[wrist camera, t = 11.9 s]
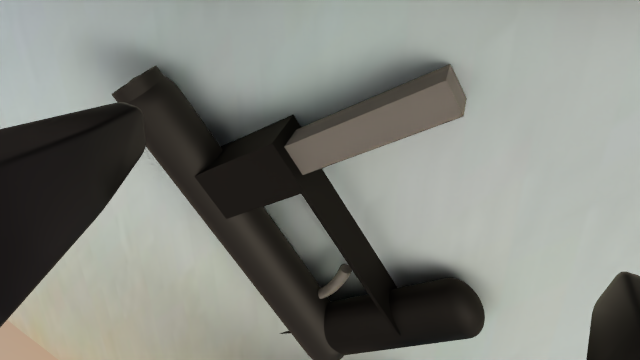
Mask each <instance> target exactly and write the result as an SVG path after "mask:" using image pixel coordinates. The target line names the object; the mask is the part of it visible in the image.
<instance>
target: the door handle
mask: <svg viewBox="0 0 640 360" xmlns="http://www.w3.org/2000/svg"><path fill="white" fill-rule="evenodd" d="M112 96H113V97H114V98H115V99H116V101H117V102H124V103H127V104H130V105H133V106H136V107H138V108H139V109H141V111H142V113H143V119H144V129H145V138H146V145H145V146H146V147H147V148H148V149H149V151H150V152H151V153H152V155H153V156H154V157H155V158H156V160H157V161H158V162H159V164H160V165H161V166H162V167H163V169H164V170H165V171H166V173H167V174H168V175H169V176H170V178H171V179H172V180H173V182H174V183H175V184H176V186H177V187H178V188H179V189H180V191H181V192H182V193H183V195H184V196H185V197H186V198H187V200H188V201H189V202H190V204H191V205H192V206H193V207H194V209H195V210H196V211H197V213H198V214H199V215H200V216H201V218H202V219H203V220H204V222H205V223H206V224H207V225H208V227H209V228H210V229H211V231H212V232H213V233H214V234H215V236H216V237H217V238H218V240H219V241H220V242H221V243H222V245H223V246H224V247H225V249H226V250H227V251H228V252H229V254H230V255H231V256H232V258H233V259H234V260H235V261H236V263H237V264H238V265H239V267H240V268H241V269H242V270H243V272H244V273H245V274H246V276H247V277H248V278H249V279H250V281H251V282H252V283H253V285H254V286H255V287H256V289H257V290H258V291H259V292H260V294H261V295H262V296H263V298H264V299H265V300H266V301H267V303H268V304H269V305H270V307H271V308H272V309H273V310H274V312H275V313H276V314H277V316H278V317H279V318H280V319H281V321H282V322H283V323H284V325H285V326H286V327H287V328H288V330H289V331H287V332H283V333H280V334H284V333H291V334H292V335H293V336H294V337H295V339H296V340H297V341H298V343H299V344H300V345H301V346H302V348H303V349H304V350H305V352H306V353H307V354H308V355H309V356H310V357H311V358H312V359H313V360H340V359H341V358H342V357H343V356H344V355H350V354H357V353H364V352H372V351H379V350H387V349H394V348H401V347H409V346H416V345H424V344H431V343H438V342H446V341H453V340H461V339H468V338H473V337H475V336H477V335H478V334H479V333H480V332H481V330H482V328H483V325H484V320H485V316H484V309H483V306H482V303H481V301H480V299H479V297H478V295H477V294H476V293H475V291H474V290H473V289H472V288H471V287H470V286H469V285H467V284H466V283H465V282H463V281H461V280H459V279H455V278H445V279H440V280H435V281H430V282H425V283H420V284H415V285H411V286H406V287H401V288H397V286H396V285H395V283H394V281H393V280H392V278H391V277H390V275H389V274H388V272H387V270H386V269H385V267H384V266H383V264H382V263H381V261H380V259H379V258H378V256H377V255H376V253H375V252H374V250H373V248H372V247H371V245H370V244H369V242H368V241H367V239H366V237H365V236H364V234H363V233H362V231H361V230H360V228H359V226H358V225H357V223H356V222H355V220H354V219H353V217H352V215H351V214H350V212H349V211H348V209H347V208H346V206H345V204H344V203H343V201H342V200H341V198H340V197H339V195H338V193H337V192H336V190H335V189H334V187H333V186H332V184H331V182H330V181H329V179H328V178H327V176H326V175H325V173H324V171H323V170H322V168H324V167H326V166H329V165H332V164H335V163H337V162H340V161H343V160H346V159H348V158H351V157H354V156H356V155H359V154H362V153H365V152H367V151H370V150H373V149H376V148H378V147H381V146H384V145H386V144H389V143H392V142H395V141H397V140H400V139H403V138H406V137H408V136H411V135H414V134H416V133H419V132H422V131H425V130H427V129H430V128H433V127H436V126H438V125H441V124H444V123H447V122H449V121H452V120H455V119H457V118H460V117H463V116H464V111H465V105H466V99H467V98H466V96H465V94H464V92H463V90H462V88H461V85H460V83H459V81H458V79H457V77H456V75H455V73H454V71H453V69H452V67H451V64H449V65H447V66H444V67H442V68H440V69H437V70H435V71H433V72H430V73H428V74H426V75H423V76H421V77H419V78H416V79H414V80H412V81H409V82H407V83H405V84H402V85H400V86H397V87H395V88H393V89H390V90H388V91H386V92H383V93H381V94H379V95H376V96H374V97H372V98H369V99H367V100H365V101H362V102H360V103H358V104H355V105H353V106H351V107H348V108H346V109H344V110H341V111H339V112H337V113H334V114H332V115H329V116H327V117H325V118H322V119H320V120H318V121H315V122H313V123H311V124H308V125H306V126H304V127H301V126H300V125H299V123H298V121H297V120H296V118H295V117H294V115H291V116H289V117H287V118H285V119H282V120H280V121H278V122H276V123H273V124H271V125H269V126H267V127H264V128H262V129H260V130H258V131H256V132H253V133H251V134H249V135H247V136H244V137H242V138H240V139H238V140H235V141H233V142H231V143H229V144H226V145H224V146H222V147H220V145H219V144H218V143H217V141H216V140H215V138H214V137H213V136H212V134H211V133H210V131H209V130H208V129H207V127H206V126H205V124H204V123H203V122H202V120H201V119H200V117H199V116H198V115H197V113H196V112H195V110H194V109H193V108H192V106H191V105H190V103H189V102H188V101H187V99H186V98H185V96H184V95H183V93H182V92H181V91H180V89H179V88H178V86H177V85H176V84H175V83H174V82H173V81H172V80H170V79H169V78H167V77H165V76H163V74H162V73H161V71H160V70H159V69H158V67H157V66H154V67H152V68H151V69H149V70H147V71H146V72H144V73H142V74H141V75H139V76H137V77H135V78H133V79H132V80H130V81H129V82H128V83H127V84H126V85H124V86H123V87H121V88H120V89H118V90H117V91H115V92H114V93H113V94H112ZM298 194H302V196H303V197H304V199H305V200H306V202H307V203H308V205H309V206H310V208H311V209H312V211H313V212H314V214H315V215H316V216H317V218H318V219H319V221H320V222H321V224H322V225H323V227H324V228H325V230H326V231H327V233H328V234H329V236H330V237H331V239H332V240H333V242H334V243H335V245H336V246H337V248H338V249H339V251H340V252H341V254H342V255H343V257H344V258H345V260H346V261H347V263H348V264H349V265H347V264H342V265H341V267H340V269H339V270H338V272H337V274H336V275H335V277H334V278H333V279H332V280H331V281H330V282H329V283H328V284H327V285H326V286H324V287H322V288H321V287H320V286H319V284H318V283H317V282H316V280H315V279H314V277H313V276H312V275H311V273H310V272H309V270H308V269H307V268H306V266H305V265H304V263H303V262H302V261H301V259H300V258H299V256H298V255H297V254H296V252H295V251H294V249H293V248H292V247H291V245H290V244H289V242H288V241H287V240H286V238H285V237H284V235H283V234H282V233H281V231H280V230H279V228H278V227H277V225H276V224H275V223H274V221H273V220H272V218H271V217H270V216H269V214H268V213H267V211H266V210H265V209H264V207H263V206H266V205H269V204H272V203H275V202H278V201H281V200H284V199H286V198H289V197H292V196H295V195H298ZM352 270H353V272H354V273H355V275H356V276H357V278H358V279H359V281H360V282H361V284H362V285H363V287H364V288H365V290H366V291H367V293H368V294H366V295H361V296H356V297H351V298H346V299H341V300H336V301H330V300H329V299H328V297H327V296H329V295H331V294H333V293H334V292H336V291H337V290H338V289H339V288H340V287H341V286H342V285H343V284H344V283H345V281H346V280H347V279H348V277H349V276H350V274H351V272H352Z"/></svg>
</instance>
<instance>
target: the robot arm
mask: <svg viewBox="0 0 640 360" xmlns="http://www.w3.org/2000/svg"><path fill="white" fill-rule="evenodd" d="M145 145H146V138H145V129H144V119H143V113H142V111H141V109H139V108H138V107H136V106H133V105H130V104H127V103H124V102H117V103H113V104H109V105H104V106H100V107H96V108H91V109H87V110H82V111H78V112H74V113H69V114H65V115H61V116H56V117H52V118H48V119H43V120H39V121H34V122H30V123H26V124H21V125H17V126H13V127H8V128H4V129H0V327H1V326H2V325H3V324H4V322H5V321H6V320H7V319H8V318H9V317H10V316H11V315H12V313H13V312H14V311H15V310H16V309H17V308H18V307H19V305H20V304H21V303H22V302H23V301H24V300H25V299H26V297H27V296H28V295H29V294H30V293H31V292H32V291H33V290H34V288H35V287H36V286H37V285H38V284H39V283H40V282H41V280H42V279H43V278H44V277H45V276H46V275H47V274H48V272H49V271H50V270H51V269H52V268H53V267H54V266H55V264H56V263H57V262H58V261H59V260H60V259H61V258H62V256H63V255H64V254H65V253H66V252H67V251H68V250H69V249H70V247H71V246H72V245H73V244H74V243H75V242H76V241H77V239H78V238H79V237H80V236H81V235H82V234H83V233H84V231H85V230H86V229H87V228H88V227H89V226H90V225H91V223H92V222H93V221H94V220H95V219H96V218H97V216H98V215H99V214H100V213H101V212H102V210H103V209H104V208H105V206H106V205H107V204H108V202H109V201H110V200H111V198H112V197H113V195H114V194H115V193H116V191H117V190H118V188H119V187H120V185H121V184H122V183H123V181H124V180H125V178H126V177H127V175H128V174H129V173H130V171H131V170H132V168H133V167H134V165H135V164H136V163H137V161H138V160H139V158H140V157H141V155H142V154H143V152H144V149H145ZM587 360H640V276H638V275H635V274H632V273H629V272H621V273H619V274H618V275H617V276H616V277H615V278H614V279H613V281H612V282H611V283H610V285H609V286H608V287H607V289H606V290H605V291H604V292H603V294H602V295H601V296H600V298H599V299H598V300H597V302H596V304H595V306H594V309H593V312H592V319H591V327H590V336H589V344H588V352H587Z"/></svg>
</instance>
